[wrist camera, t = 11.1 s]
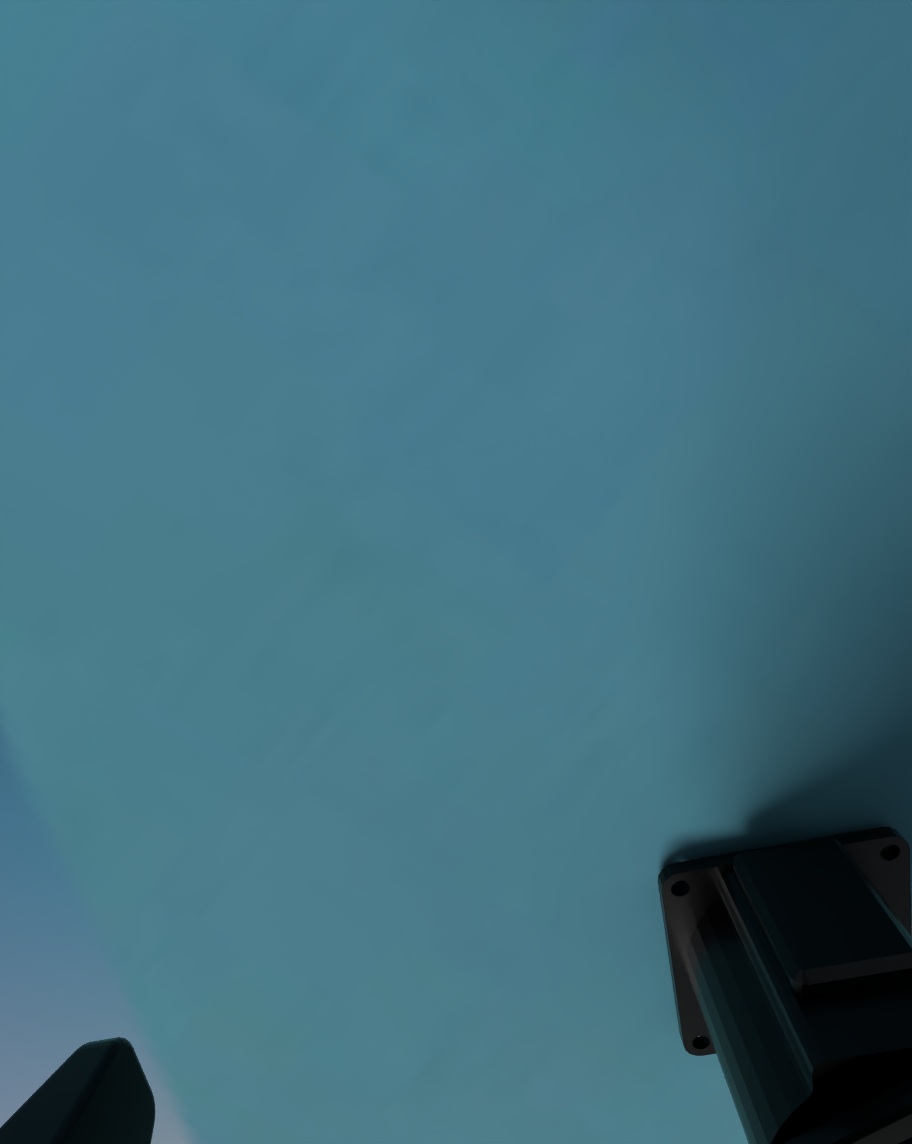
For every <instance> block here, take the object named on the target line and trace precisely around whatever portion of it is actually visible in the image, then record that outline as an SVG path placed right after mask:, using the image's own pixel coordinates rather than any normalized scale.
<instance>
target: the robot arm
mask: <svg viewBox="0 0 912 1144" xmlns="http://www.w3.org/2000/svg"><path fill="white" fill-rule="evenodd" d="M890 844H891V846H890V847H889V848H888V849H886V850H883V851H881V850H882V849H883V848H884V847H885V846H887V845H890ZM678 881H685V882H684V883H683V884H681V885H679V886H672V885H673V884H674V883H675V882H678ZM658 886H659V893H660V900H661V907H662V914H663V921H664V928H665V934H666V941H667V948H668V955H669V962H670V969H671V976H672V983H673V990H674V997H675V1004H676V1010H677V1017H678V1024H679V1031H680V1036H681V1039H682V1042H683V1045H684V1047H685V1050H686V1051H687V1052H689V1053H690V1054H692V1055H696V1056H703V1055H709V1054H715V1053H716V1054H717V1057H718V1059H719V1062H720V1065H721V1068H722V1070H723V1073H724V1076H725V1079H726V1082H727V1084H728V1087H729V1090H730V1093H731V1095H732V1098H733V1101H734V1104H735V1107H736V1109H737V1112H738V1115H739V1118H740V1121H741V1123H742V1126H743V1129H744V1132H745V1134H746V1137H747V1140H748V1143H749V1144H912V937H911V893H910V849H909V845H908V843H907V842H906V840H905V839H904V838H903V837H902V836H901V834H900V833H899V832H898V831H897V830H896V829H893V828H891V827H880V828H874V829H868V830H863V831H857V832H851V833H845V834H840V835H834V836H828V837H822V838H817V839H811V840H805V841H799V842H794V843H788V844H782V845H776V846H771V847H765V848H759V849H753V850H748V851H742V852H736V853H730V854H725V855H719V856H713V857H707V858H702V859H696V860H690V861H685V862H679V863H674V864H671V865H668V866H666V867H665V868H664V869H662V870H661V872H660V874H659V875H658ZM699 1036H700V1037H699ZM154 1121H155V1102H154V1097H153V1093H152V1091H151V1088H150V1086H149V1084H148V1081H147V1079H146V1077H145V1074H144V1072H143V1070H142V1067H141V1065H140V1063H139V1060H138V1058H137V1056H136V1053H135V1051H134V1048H133V1046H132V1045H131V1043H130V1042H129V1041H128V1040H127V1039H125V1038H120V1037H118V1038H112V1039H107V1040H100V1041H93V1042H89V1043H86V1044H84V1045H82V1046H81V1047H79V1048H78V1049H77V1050H76V1051H75V1052H74V1053H73V1054H72V1055H71V1056H70V1057H69V1058H68V1059H67V1060H66V1061H65V1062H64V1063H63V1064H62V1065H61V1066H60V1067H59V1068H58V1069H57V1070H56V1071H55V1072H54V1073H53V1074H52V1075H51V1076H50V1078H48V1079H47V1080H46V1081H45V1083H44V1084H43V1085H42V1086H41V1087H40V1088H39V1089H38V1090H37V1091H36V1092H35V1093H34V1094H33V1095H32V1096H31V1097H30V1098H29V1099H28V1100H27V1101H26V1102H25V1103H24V1104H23V1105H22V1106H21V1107H20V1108H19V1109H18V1110H17V1111H16V1112H15V1113H14V1114H13V1115H12V1116H11V1117H10V1118H9V1120H8V1121H7V1122H5V1124H4V1125H3V1126H2V1127H1V1128H0V1144H151V1139H152V1133H153V1128H154Z"/></svg>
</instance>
